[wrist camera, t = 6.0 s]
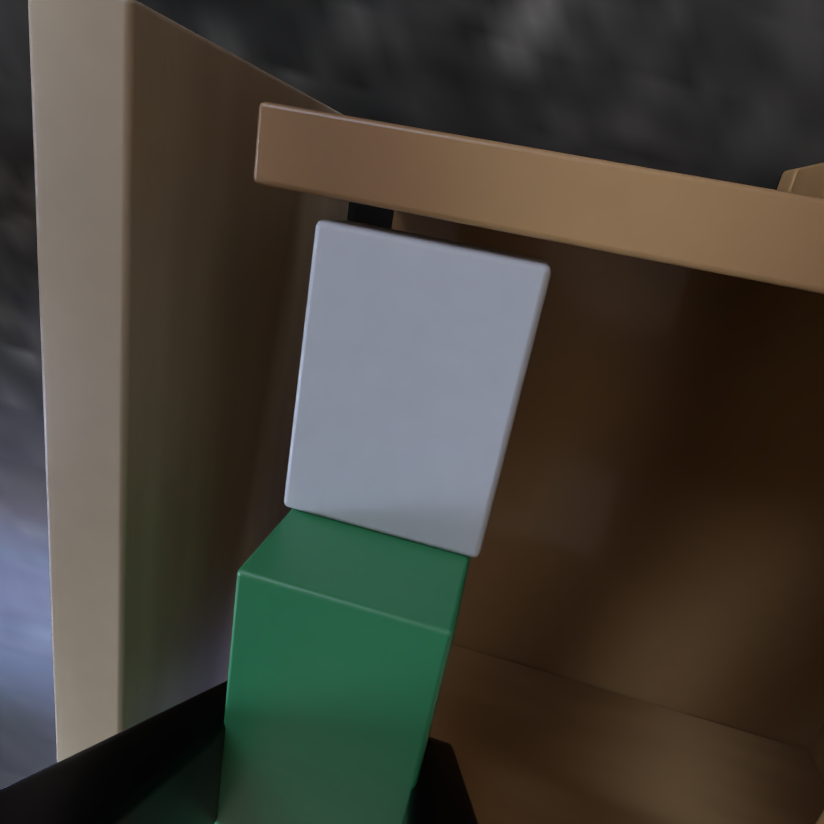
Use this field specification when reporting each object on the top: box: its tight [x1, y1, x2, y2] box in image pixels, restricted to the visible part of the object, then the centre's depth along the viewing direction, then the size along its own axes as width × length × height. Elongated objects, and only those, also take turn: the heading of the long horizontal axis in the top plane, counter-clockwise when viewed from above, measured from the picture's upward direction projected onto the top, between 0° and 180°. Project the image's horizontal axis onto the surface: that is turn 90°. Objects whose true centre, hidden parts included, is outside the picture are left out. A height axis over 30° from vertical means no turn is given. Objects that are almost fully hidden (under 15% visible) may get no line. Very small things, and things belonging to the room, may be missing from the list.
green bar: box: [215, 220, 551, 824], centre depth 8 cm, size 10×3×2 cm, turn 169°
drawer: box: [28, 0, 824, 824], centre depth 11 cm, size 17×13×8 cm
